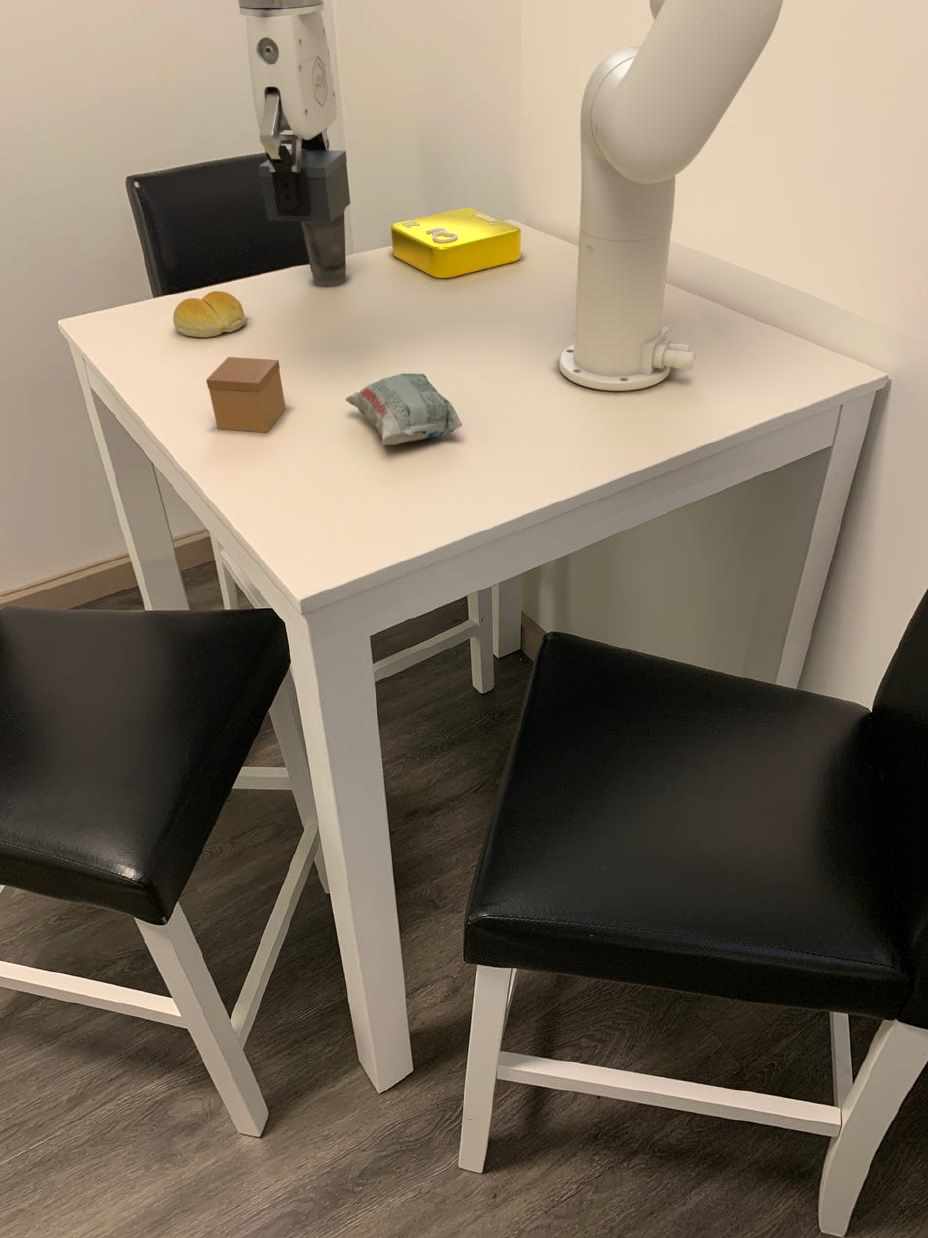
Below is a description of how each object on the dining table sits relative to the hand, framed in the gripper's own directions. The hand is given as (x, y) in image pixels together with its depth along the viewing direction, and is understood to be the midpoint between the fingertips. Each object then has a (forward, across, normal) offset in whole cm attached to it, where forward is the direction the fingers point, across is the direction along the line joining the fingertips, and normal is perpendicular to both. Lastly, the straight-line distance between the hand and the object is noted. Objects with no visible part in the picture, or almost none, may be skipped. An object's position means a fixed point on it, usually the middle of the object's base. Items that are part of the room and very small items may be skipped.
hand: (306, 202), depth 94 cm
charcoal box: (+1, 0, 0) cm, 1 cm away
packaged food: (+20, -10, -11) cm, 25 cm away
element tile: (+20, +45, -5) cm, 49 cm away
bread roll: (+20, +14, +20) cm, 32 cm away
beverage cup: (+20, +32, +10) cm, 39 cm away
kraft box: (+20, -10, +6) cm, 22 cm away
